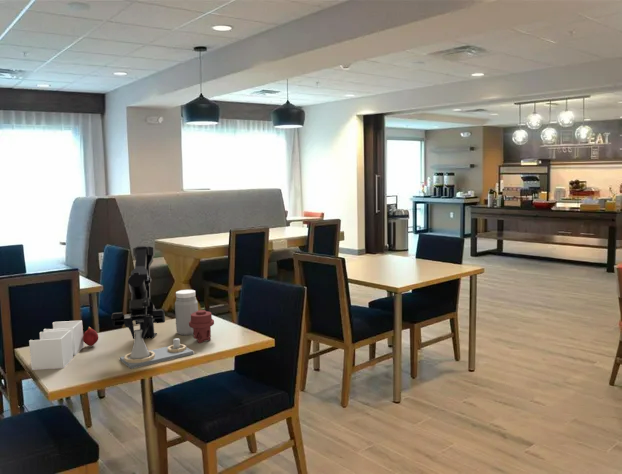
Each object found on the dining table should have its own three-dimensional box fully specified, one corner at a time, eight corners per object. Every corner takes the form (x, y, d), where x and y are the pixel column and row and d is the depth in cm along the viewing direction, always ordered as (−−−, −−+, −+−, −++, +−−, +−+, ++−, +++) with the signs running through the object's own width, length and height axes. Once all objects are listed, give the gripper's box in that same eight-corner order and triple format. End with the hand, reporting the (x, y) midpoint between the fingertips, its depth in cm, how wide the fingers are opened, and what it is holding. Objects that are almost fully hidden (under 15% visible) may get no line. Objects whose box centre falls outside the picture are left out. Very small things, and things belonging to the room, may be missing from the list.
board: (130, 368, 200) (129, 354, 200) (119, 360, 210) (118, 346, 209) (193, 354, 214) (192, 340, 214) (180, 346, 224) (179, 333, 223)
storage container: (63, 368, 203) (61, 338, 202) (31, 370, 202) (29, 340, 201) (84, 346, 228) (82, 320, 227) (55, 348, 227) (53, 321, 226)
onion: (102, 345, 229) (100, 325, 228) (91, 349, 224) (89, 329, 223) (91, 343, 231) (90, 324, 230) (80, 347, 226) (78, 328, 225)
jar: (196, 335, 238) (194, 293, 236) (173, 336, 238) (171, 294, 236) (201, 329, 248) (199, 288, 246) (179, 329, 248) (177, 289, 246)
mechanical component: (218, 337, 235) (209, 344, 225) (195, 336, 237) (186, 343, 227) (217, 308, 233) (207, 314, 224) (194, 307, 235) (184, 314, 226)
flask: (128, 356, 210) (126, 329, 209) (148, 353, 213) (146, 327, 212) (131, 361, 203) (129, 334, 202) (151, 358, 206) (149, 331, 205)
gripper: (110, 291, 207) (107, 329, 198) (162, 288, 211) (162, 325, 201) (114, 307, 216) (112, 344, 207) (165, 303, 219) (165, 339, 210)
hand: (138, 338), depth 206 cm, fingers closed on flask, 3 cm apart
